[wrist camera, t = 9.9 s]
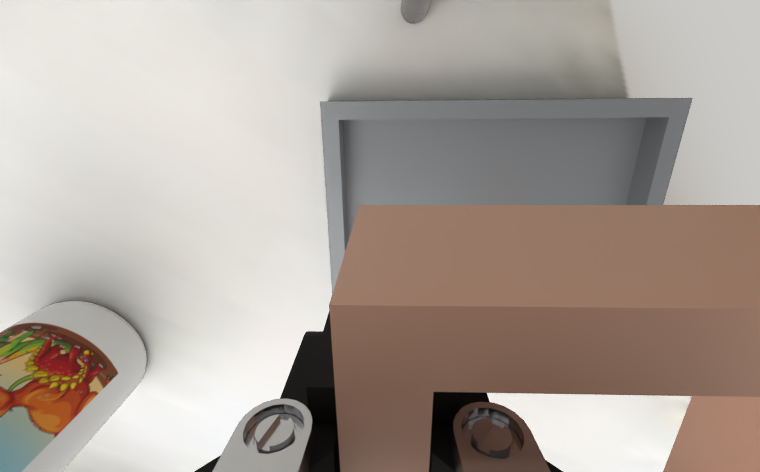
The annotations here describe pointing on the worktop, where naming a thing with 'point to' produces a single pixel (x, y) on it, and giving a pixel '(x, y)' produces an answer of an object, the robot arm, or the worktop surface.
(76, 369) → the milk bottle
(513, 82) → the worktop surface
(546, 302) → the ring
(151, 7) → the worktop surface
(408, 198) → the tray
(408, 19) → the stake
